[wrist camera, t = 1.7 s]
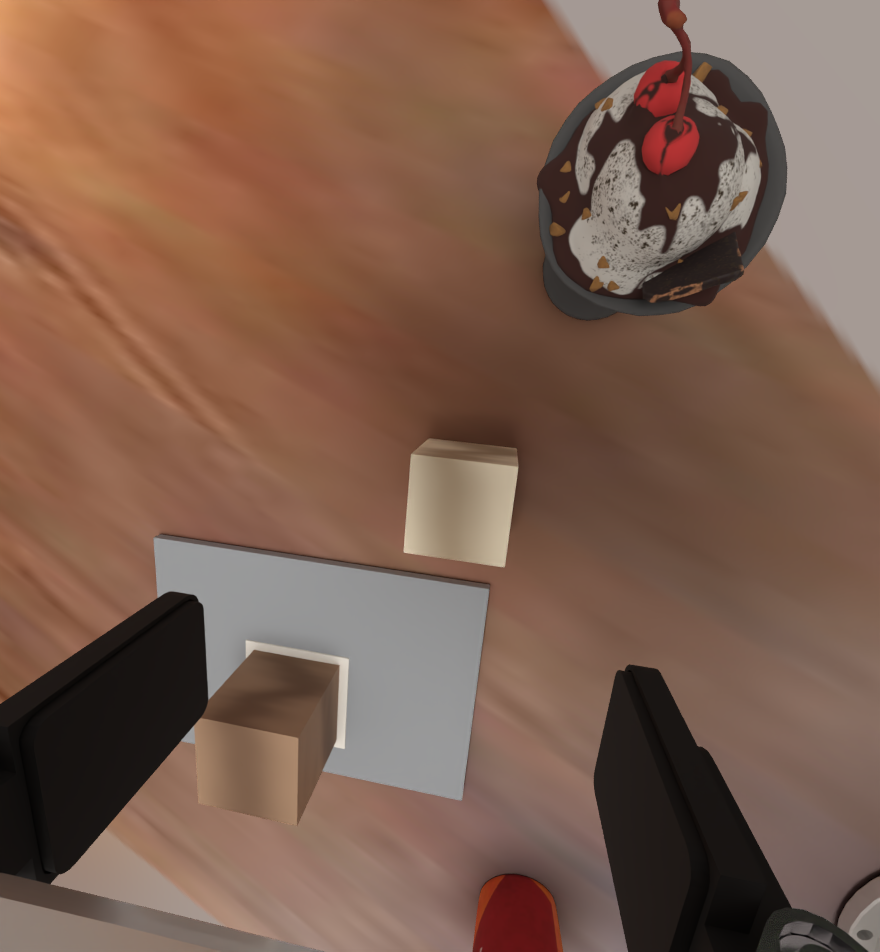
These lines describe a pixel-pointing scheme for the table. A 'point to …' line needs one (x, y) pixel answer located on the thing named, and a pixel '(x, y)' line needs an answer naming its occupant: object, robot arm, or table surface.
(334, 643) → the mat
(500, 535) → the birch block
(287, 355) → the table surface
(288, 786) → the walnut block
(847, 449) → the table surface
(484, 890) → the paper cup
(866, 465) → the table surface
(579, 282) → the sundae
